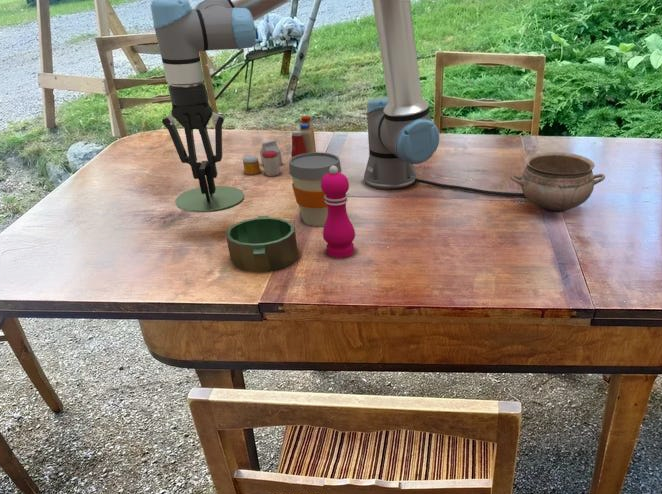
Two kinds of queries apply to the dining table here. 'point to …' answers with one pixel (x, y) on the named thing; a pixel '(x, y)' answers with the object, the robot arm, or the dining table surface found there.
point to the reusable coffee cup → (311, 184)
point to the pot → (262, 244)
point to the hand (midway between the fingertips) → (208, 191)
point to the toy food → (272, 156)
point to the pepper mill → (337, 215)
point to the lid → (209, 196)
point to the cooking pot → (557, 180)
